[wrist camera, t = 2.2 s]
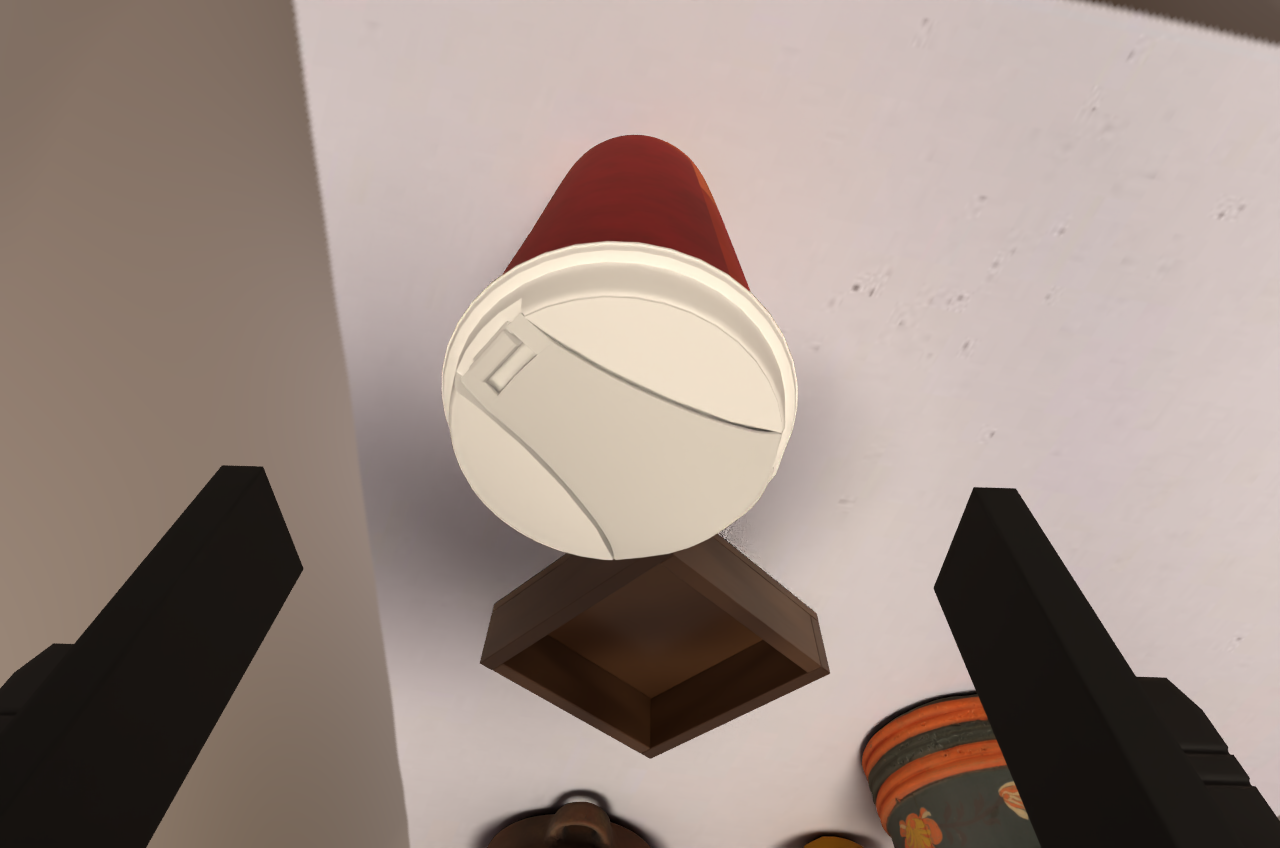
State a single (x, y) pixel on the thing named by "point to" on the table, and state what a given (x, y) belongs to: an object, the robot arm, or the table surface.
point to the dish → (568, 831)
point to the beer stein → (945, 780)
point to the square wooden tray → (656, 642)
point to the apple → (832, 843)
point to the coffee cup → (621, 367)
